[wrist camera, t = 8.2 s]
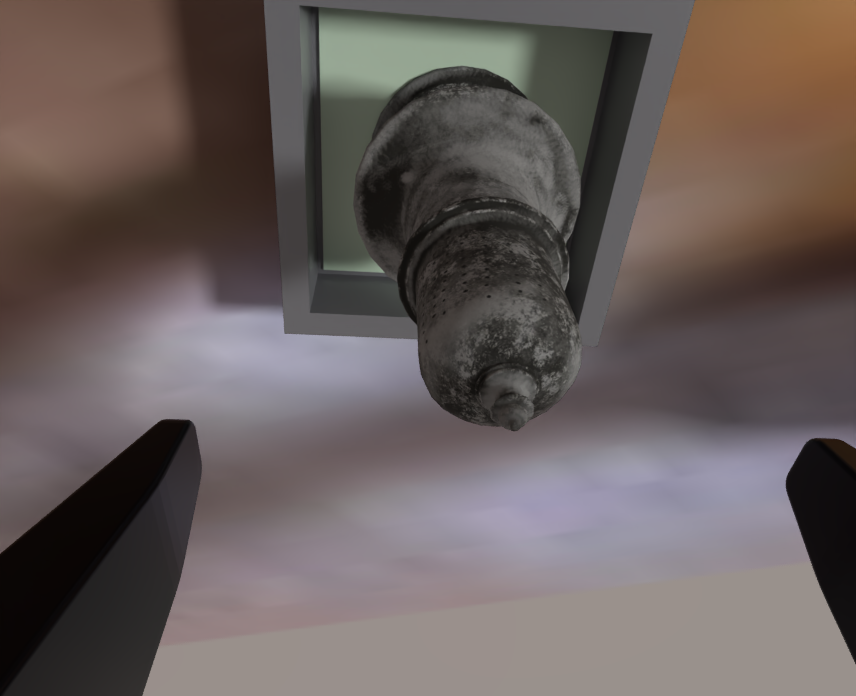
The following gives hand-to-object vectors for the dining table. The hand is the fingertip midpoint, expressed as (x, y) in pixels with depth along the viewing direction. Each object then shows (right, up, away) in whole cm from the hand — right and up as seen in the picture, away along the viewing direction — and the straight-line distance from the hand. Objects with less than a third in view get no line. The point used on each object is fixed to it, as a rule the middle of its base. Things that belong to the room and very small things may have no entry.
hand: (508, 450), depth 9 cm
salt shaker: (0, +7, +10) cm, 13 cm away
